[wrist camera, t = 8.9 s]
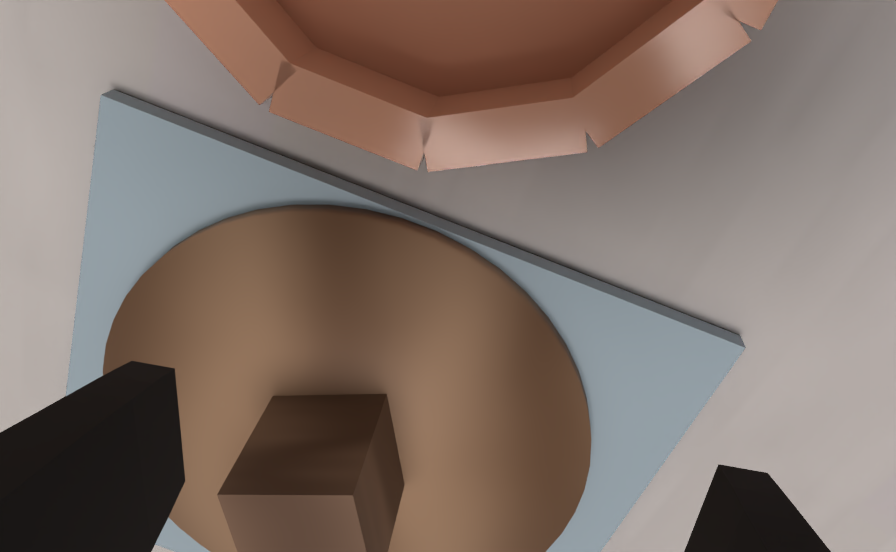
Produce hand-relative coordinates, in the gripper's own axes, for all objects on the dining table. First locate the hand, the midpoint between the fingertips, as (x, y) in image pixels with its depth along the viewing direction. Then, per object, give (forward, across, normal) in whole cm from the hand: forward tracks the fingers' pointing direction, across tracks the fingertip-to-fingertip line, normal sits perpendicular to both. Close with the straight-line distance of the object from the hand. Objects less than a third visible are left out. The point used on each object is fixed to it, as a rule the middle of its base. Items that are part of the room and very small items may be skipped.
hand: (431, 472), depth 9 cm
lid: (+10, +4, +8) cm, 13 cm away
